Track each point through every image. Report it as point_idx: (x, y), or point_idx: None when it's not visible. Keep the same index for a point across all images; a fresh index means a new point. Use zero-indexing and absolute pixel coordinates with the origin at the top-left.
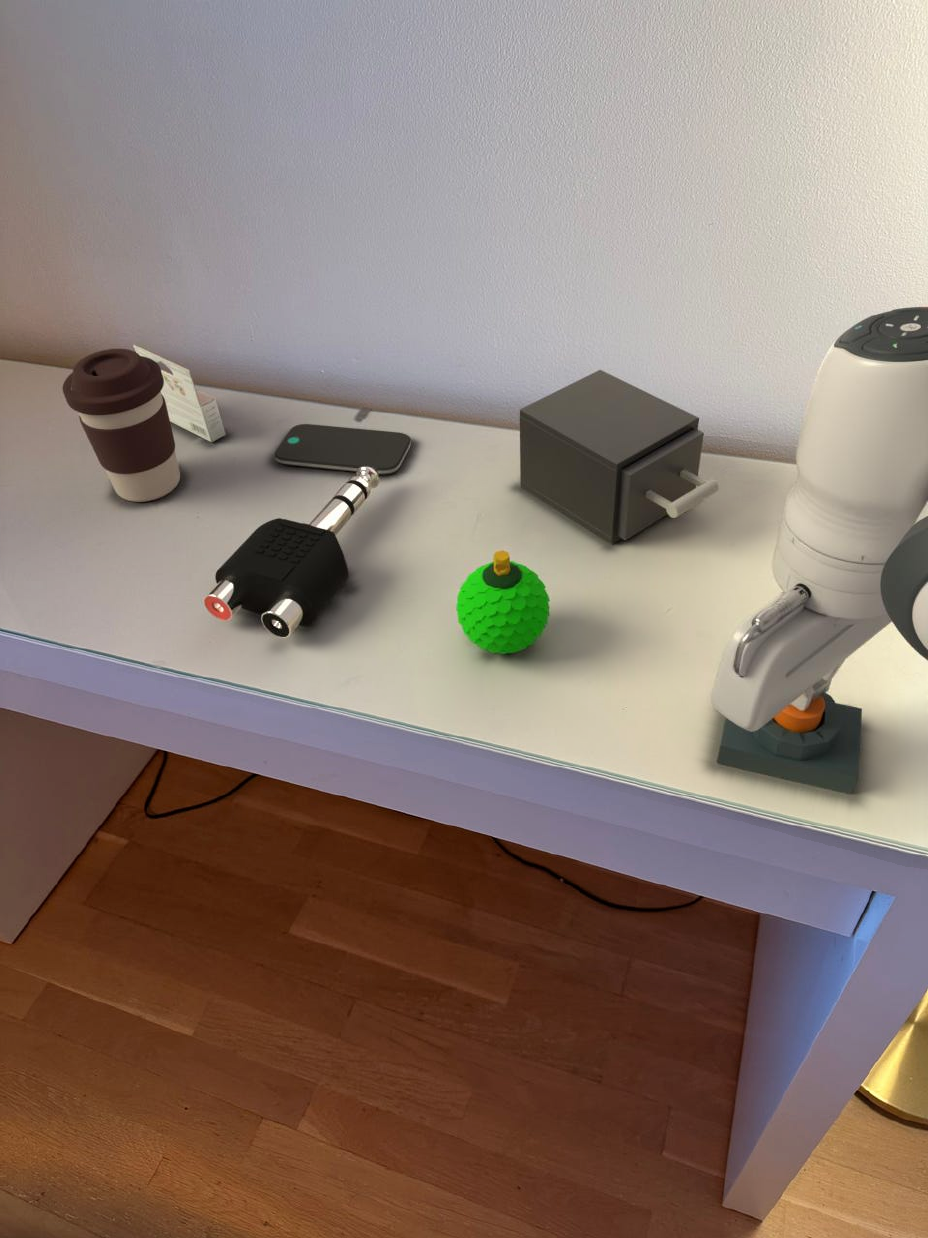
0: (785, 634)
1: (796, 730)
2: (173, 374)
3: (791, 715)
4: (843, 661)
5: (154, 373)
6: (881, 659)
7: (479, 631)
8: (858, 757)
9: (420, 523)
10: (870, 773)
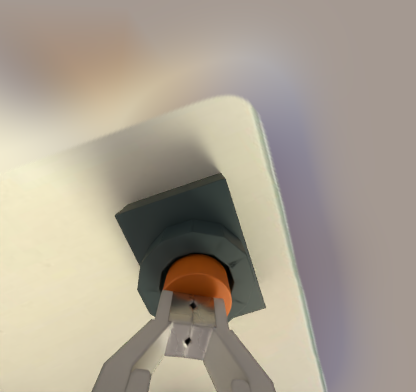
0: None
1: (225, 272)
2: None
3: (231, 301)
4: (121, 351)
5: None
6: (7, 219)
7: None
8: (195, 189)
9: None
10: (180, 166)
